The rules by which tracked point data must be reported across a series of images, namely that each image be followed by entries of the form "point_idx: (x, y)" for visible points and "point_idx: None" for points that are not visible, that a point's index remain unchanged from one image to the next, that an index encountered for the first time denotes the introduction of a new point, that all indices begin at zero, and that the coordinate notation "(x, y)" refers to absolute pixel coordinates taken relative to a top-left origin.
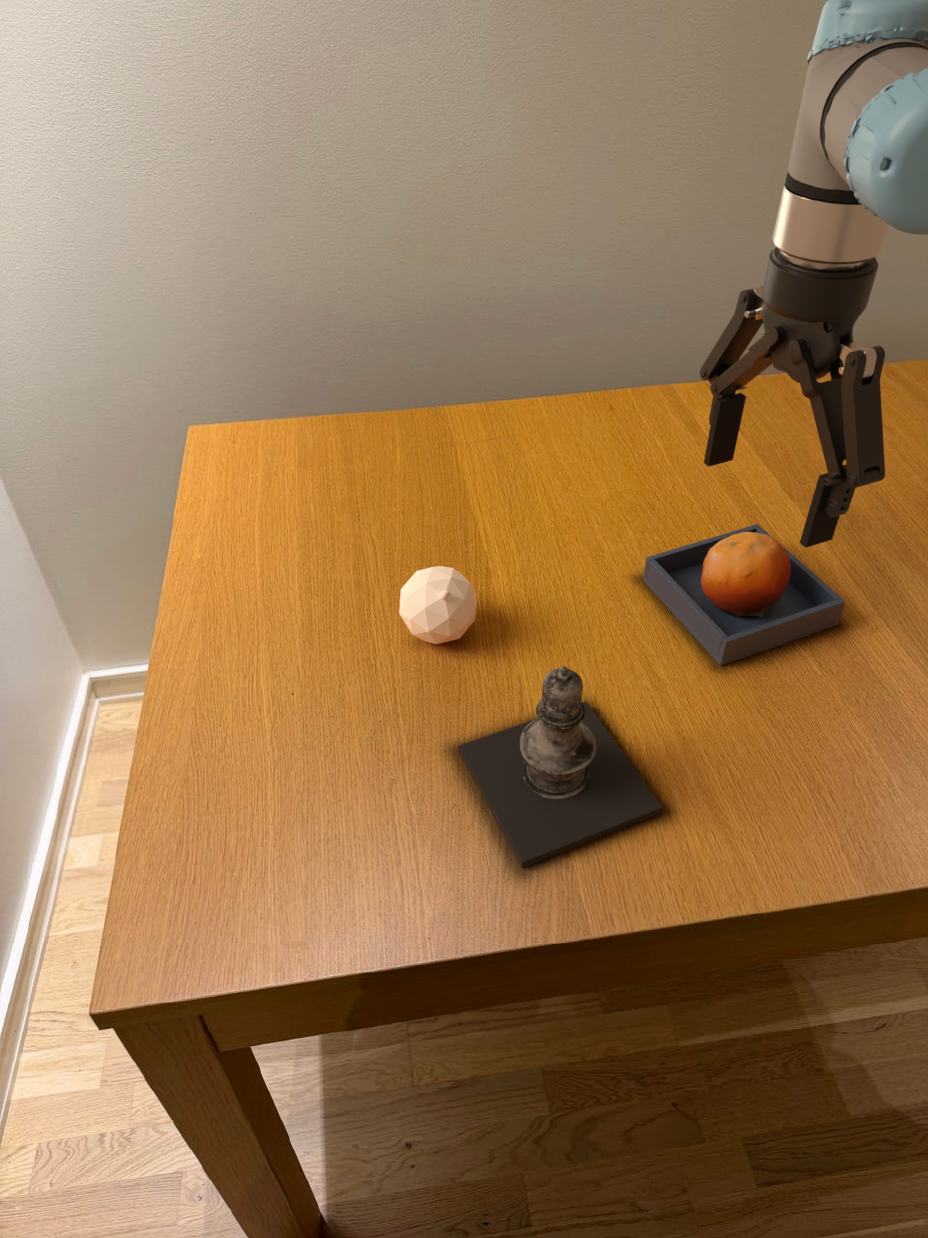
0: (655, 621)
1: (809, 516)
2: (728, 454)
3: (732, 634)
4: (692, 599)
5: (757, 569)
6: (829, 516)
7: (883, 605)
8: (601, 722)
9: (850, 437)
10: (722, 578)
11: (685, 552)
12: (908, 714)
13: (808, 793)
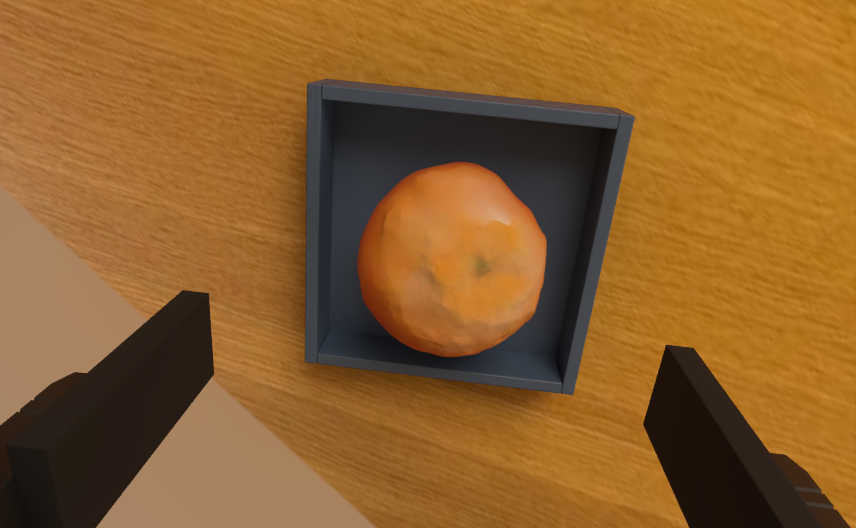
0: (496, 46)
1: (148, 341)
2: (656, 423)
3: (376, 154)
4: (452, 111)
5: (379, 246)
6: (78, 373)
7: (326, 423)
8: None
9: None
10: (424, 178)
11: (596, 214)
12: (115, 274)
13: (14, 3)
